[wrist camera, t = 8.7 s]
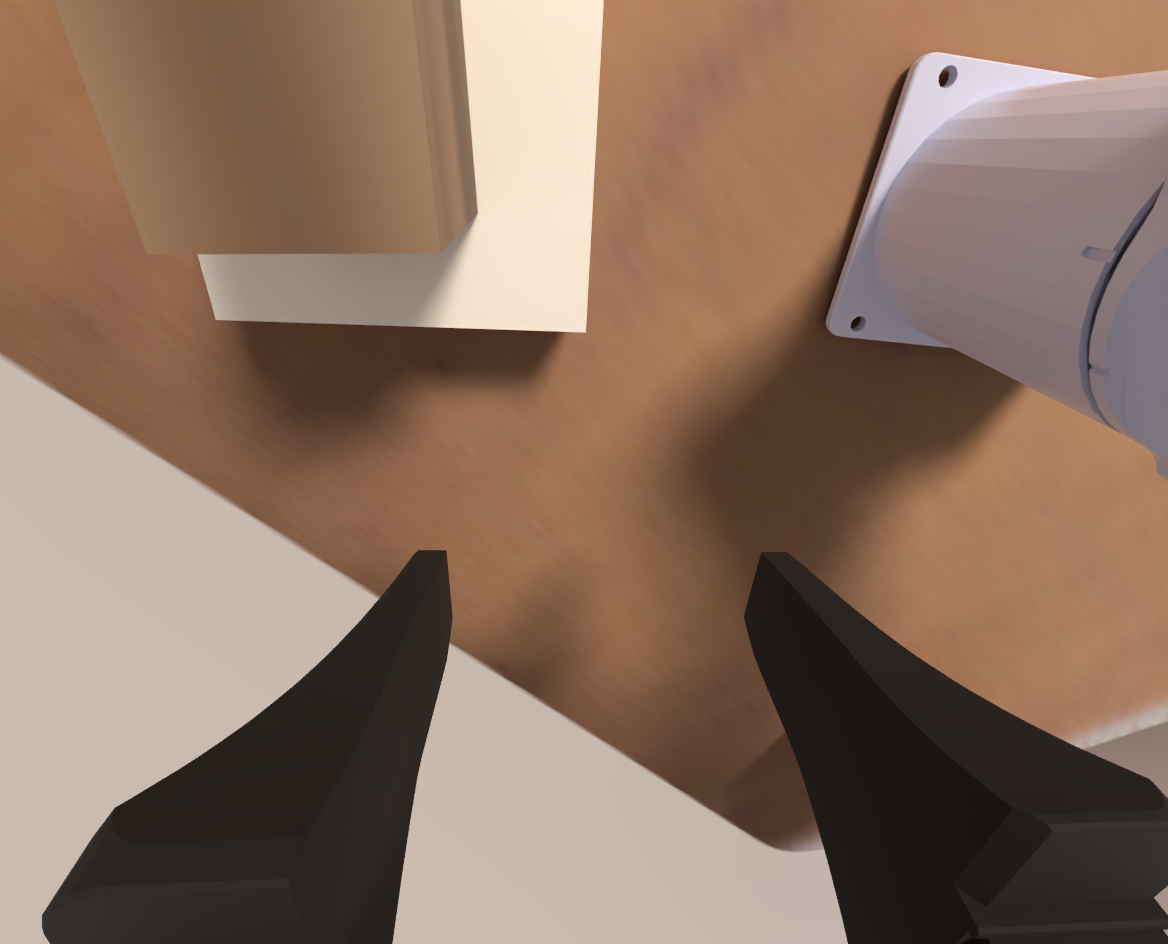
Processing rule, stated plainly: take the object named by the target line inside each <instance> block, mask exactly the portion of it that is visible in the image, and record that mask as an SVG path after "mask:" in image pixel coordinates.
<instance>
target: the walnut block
mask: <svg viewBox="0 0 1168 944" xmlns="http://www.w3.org/2000/svg"><path fill="white" fill-rule="evenodd" d="M54 3H55V6H56V8H57V11H58V14H59V17H60V19H61V22H62V25H63V27H64V30H65V33H66V36H67V38H68V41H69V44H70V46H71V49H72V52H73V55H74V57H75V60H76V63H77V66H78V68H79V71H80V74H81V76H82V79H83V82H84V85H85V87H86V90H87V93H88V95H89V98H90V101H91V104H92V106H93V109H94V112H95V115H96V117H97V120H98V123H99V125H100V128H101V131H102V134H103V136H104V139H105V142H106V144H107V147H108V150H109V153H110V155H111V158H112V161H113V163H114V166H115V169H116V172H117V174H118V177H119V180H120V183H121V185H122V188H123V191H124V193H125V196H126V199H127V202H128V204H129V207H130V210H131V212H132V215H133V218H134V221H135V223H136V226H137V229H138V232H139V234H140V237H141V240H142V242H143V245H144V248H145V251H146V253H147V255H173V254H380V253H442V252H443V251H444V249H445V248H446V247H447V246H448V245H449V244H450V243H451V242H452V241H453V240H454V239H455V238H456V236H457V235H458V234H459V233H460V232H461V231H462V230H463V229H464V228H465V227H466V226H467V225H468V224H469V222H470V221H471V220H472V219H473V218H474V217H475V216H476V215H477V214H478V209H477V196H476V184H475V172H474V160H473V148H472V136H471V124H470V111H469V99H468V87H467V75H466V63H465V51H464V38H463V26H462V14H461V2H460V0H54Z"/></svg>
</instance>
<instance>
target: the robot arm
mask: <svg viewBox="0 0 1168 944" xmlns="http://www.w3.org/2000/svg"><path fill="white" fill-rule="evenodd" d="M944 68H947V69H948V72H949V77H948V81H947V82H946V84H945V85H944V86H943V87H941V86H940V84H939V82H938V80H939V75H940V73H941V71H942V70H943V69H944ZM859 316H860V323H859V324H858V326H856V327H855V328H851V322H852V321H853V319H855V318H856V317H859ZM826 327H827V329H828V330H829V331H830V332H831V333H832V334H834V335H836V336H839V337H849V338H859V339H868V340H878V341H888V342H898V343H907V344H917V345H927V346H937V347H946V348H953V349H955V350H957V351H959V352H961V353H963V354H965V355H967V356H969V357H971V358H973V359H975V360H977V361H979V362H981V363H983V364H985V365H987V366H989V367H991V368H993V369H995V370H997V371H999V372H1001V373H1003V374H1005V375H1007V376H1009V377H1011V378H1013V379H1015V380H1016V381H1018V382H1020V383H1022V384H1024V385H1026V386H1028V387H1030V388H1032V389H1034V390H1036V391H1038V392H1040V393H1042V394H1044V395H1046V396H1048V397H1050V398H1052V399H1054V400H1056V401H1058V402H1060V403H1062V404H1064V405H1066V406H1068V407H1070V408H1072V409H1074V410H1076V411H1078V412H1080V413H1082V414H1084V415H1086V416H1088V417H1090V418H1092V419H1094V420H1096V421H1098V422H1100V423H1101V424H1103V425H1105V426H1107V427H1109V428H1111V429H1113V430H1115V431H1117V432H1119V433H1121V434H1123V435H1125V436H1127V437H1129V438H1131V439H1133V440H1134V441H1136V442H1138V443H1140V444H1142V445H1144V446H1145V447H1147V448H1148V449H1149V450H1150V451H1151V452H1152V454H1153V455H1154V457H1155V459H1156V463H1157V472H1158V474H1159V475H1161V476H1163V477H1165V478H1166V479H1168V70H1165V71H1156V72H1148V73H1139V74H1131V75H1122V76H1114V77H1105V78H1092V77H1086V76H1080V75H1074V74H1068V73H1062V72H1056V71H1050V70H1044V69H1037V68H1031V67H1025V66H1019V65H1013V64H1007V63H1001V62H995V61H989V60H982V59H976V58H970V57H964V56H958V55H952V54H946V53H940V52H936V53H929V54H925V55H923V56H921V57H919V58H918V59H917V60H916V61H915V62H914V63H913V64H912V66H911V68H910V70H909V72H908V74H907V77H906V80H905V83H904V86H903V89H902V92H901V95H900V98H899V101H898V105H897V108H896V111H895V114H894V117H893V120H892V123H891V126H890V129H889V132H888V135H887V138H886V141H885V144H884V147H883V150H882V153H881V156H880V159H879V162H878V165H877V168H876V171H875V174H874V177H873V180H872V183H871V186H870V189H869V192H868V195H867V198H866V201H865V204H864V207H863V210H862V213H861V216H860V219H859V222H858V225H857V228H856V231H855V234H854V237H853V240H852V243H851V246H850V249H849V252H848V255H847V258H846V261H845V264H844V267H843V270H842V273H841V276H840V279H839V282H838V285H837V288H836V291H835V294H834V297H833V300H832V303H831V306H830V309H829V312H828V315H827V318H826ZM744 619H745V623H746V627H747V631H748V635H749V639H750V642H751V646H752V649H753V653H754V656H755V659H756V662H757V664H758V667H759V669H760V672H761V674H762V676H763V679H764V681H765V684H766V686H767V688H768V691H769V693H770V696H771V698H772V700H773V703H774V705H775V707H776V710H777V712H778V715H779V717H780V719H781V722H782V724H783V726H784V729H785V731H786V733H787V736H788V738H789V741H790V743H791V745H792V748H793V750H794V753H795V756H796V758H797V761H798V764H799V766H800V769H801V773H802V776H803V779H804V782H805V785H806V789H807V792H808V795H809V798H810V802H811V805H812V808H813V811H814V815H815V818H816V822H817V825H818V829H819V832H820V836H821V839H822V843H823V846H824V850H825V853H826V857H827V860H828V864H829V868H830V872H831V876H832V880H833V884H834V888H835V891H836V896H837V899H838V903H839V907H840V911H841V915H842V919H843V923H844V928H845V932H846V937H847V941H848V944H1168V936H1167V935H1166V934H1165V932H1164V931H1163V930H1164V929H1166V930H1167V929H1168V915H1167V914H1166V913H1165V911H1164V910H1163V909H1162V908H1161V906H1160V905H1159V904H1158V903H1157V901H1156V900H1155V899H1154V897H1155V896H1156V895H1157V894H1158V893H1159V892H1161V891H1162V890H1163V889H1164V888H1166V887H1167V886H1168V798H1167V797H1166V796H1165V795H1164V794H1163V793H1162V792H1161V791H1160V790H1159V789H1158V787H1157V786H1156V785H1155V784H1154V783H1153V782H1152V781H1151V780H1149V779H1148V778H1146V777H1143V776H1141V775H1139V774H1136V773H1134V772H1132V771H1130V770H1128V769H1125V768H1123V767H1121V766H1118V765H1116V764H1114V763H1112V762H1109V761H1107V760H1105V759H1102V758H1100V757H1098V756H1096V755H1093V754H1091V753H1089V752H1087V751H1084V750H1082V749H1080V748H1078V747H1076V746H1074V745H1071V744H1069V743H1067V742H1065V741H1063V740H1061V739H1059V738H1057V737H1055V736H1053V735H1051V734H1049V733H1047V732H1045V731H1043V730H1041V729H1039V728H1037V727H1035V726H1033V725H1031V724H1029V723H1027V722H1025V721H1024V720H1022V719H1020V718H1018V717H1016V716H1014V715H1012V714H1010V713H1009V712H1007V711H1005V710H1003V709H1001V708H1000V707H998V706H996V705H994V704H993V703H991V702H989V701H987V700H986V699H984V698H982V697H980V696H979V695H977V694H975V693H973V692H972V691H970V690H968V689H967V688H965V687H963V686H962V685H960V684H958V683H957V682H955V681H953V680H952V679H950V678H949V677H947V676H946V675H944V674H943V673H941V672H940V671H938V670H937V669H935V668H934V667H932V666H930V665H929V664H927V663H926V662H924V661H923V660H921V659H920V658H918V657H917V656H915V655H914V654H913V653H911V652H910V651H908V650H907V649H906V648H904V647H903V646H901V645H900V644H899V643H897V642H896V641H895V640H893V639H892V638H891V637H889V636H888V635H887V634H885V633H884V632H883V631H881V630H880V629H879V628H877V627H876V626H875V625H874V624H872V623H871V622H870V621H869V620H867V619H866V618H865V617H864V616H862V615H861V614H860V613H859V612H857V611H856V610H855V609H854V608H852V607H851V606H850V605H849V604H848V603H846V602H845V601H844V600H843V599H842V598H841V597H839V596H838V595H837V594H836V593H835V592H833V591H832V590H831V589H830V588H829V587H828V586H826V585H825V584H824V583H823V582H822V581H821V580H819V579H818V578H817V577H816V576H815V575H814V574H812V573H811V572H810V571H809V570H808V569H807V568H805V567H804V566H803V565H802V564H801V563H800V562H798V561H797V560H796V559H795V558H793V557H792V556H791V555H790V554H788V553H787V552H761V555H760V559H759V563H758V566H757V570H756V574H755V578H754V581H753V585H752V589H751V592H750V596H749V600H748V604H747V607H746V611H745V615H744ZM451 626H452V607H451V596H450V585H449V574H448V563H447V552H446V550H418V551H417V552H416V553H415V554H414V555H413V556H412V558H411V559H410V560H409V562H408V563H407V564H406V566H405V567H404V568H403V570H402V571H401V572H400V574H399V575H398V576H397V578H396V579H395V580H394V581H393V583H392V584H391V585H390V586H389V588H388V589H387V590H386V591H385V593H384V594H383V595H382V596H381V597H380V599H379V600H378V601H377V602H376V603H375V604H374V606H373V607H372V608H371V609H370V610H369V611H368V613H367V614H366V615H365V616H364V617H363V619H362V620H361V621H360V622H359V623H358V624H357V625H356V626H355V627H354V628H353V629H352V630H351V631H350V632H349V633H348V634H347V635H346V636H345V638H344V639H343V640H342V641H341V642H340V643H339V644H338V645H337V646H336V647H335V648H334V649H333V650H332V651H331V652H330V653H329V654H328V655H327V656H326V657H325V658H324V659H323V660H322V661H321V662H320V663H318V665H316V667H314V668H313V669H312V670H311V671H310V672H309V673H308V674H306V675H305V676H304V677H303V678H302V679H301V680H300V681H299V682H297V683H296V684H295V685H294V686H293V687H292V688H290V689H289V690H288V691H287V692H286V693H284V694H283V695H282V696H281V697H279V698H278V699H277V700H276V701H275V702H274V703H272V704H271V705H270V706H268V707H267V708H266V709H265V710H263V711H262V712H261V713H260V714H258V715H257V716H256V717H255V718H253V719H252V720H251V721H249V722H248V723H247V724H245V725H244V726H242V727H241V728H240V729H238V730H237V731H235V732H234V733H233V734H231V735H230V736H228V737H227V738H225V739H224V740H223V741H222V742H220V743H218V744H217V745H215V746H214V747H212V748H211V749H209V750H208V751H207V752H205V753H204V754H202V755H201V756H199V757H198V758H196V759H195V760H193V761H191V762H190V763H188V764H187V765H185V766H184V767H182V768H181V769H179V770H177V771H176V772H174V773H172V774H171V775H169V776H167V777H166V778H164V779H162V780H161V781H159V782H157V783H156V784H154V785H153V786H151V787H149V788H148V789H146V790H144V791H143V792H141V793H140V794H138V795H136V796H134V797H133V798H131V799H129V800H128V801H126V802H124V803H122V804H121V805H119V806H117V807H115V809H114V810H113V811H112V812H111V814H110V815H109V817H108V818H107V819H106V820H105V822H104V823H103V824H102V826H101V827H100V828H99V830H98V831H97V832H96V834H95V835H94V836H93V838H92V839H91V841H90V842H89V844H88V845H87V847H86V848H85V850H84V851H83V853H82V854H81V856H80V857H79V859H78V861H77V862H76V864H75V865H74V867H73V868H72V870H71V871H70V873H69V875H68V876H67V877H66V879H65V881H64V882H63V884H62V885H61V887H60V888H59V890H58V891H57V893H56V894H55V896H54V898H53V899H52V901H51V902H50V904H49V905H48V907H47V908H46V910H45V911H44V913H43V914H42V929H43V932H44V935H45V936H46V938H47V940H48V941H49V943H50V944H392V942H393V934H394V927H395V921H396V913H397V906H398V899H399V892H400V885H401V878H402V871H403V864H404V858H405V851H406V844H407V838H408V831H409V825H410V818H411V812H412V806H413V800H414V794H415V788H416V782H417V776H418V771H419V767H420V762H421V758H422V754H423V749H424V746H425V742H426V738H427V734H428V731H429V727H430V722H431V719H432V715H433V711H434V707H435V703H436V700H437V696H438V692H439V688H440V684H441V681H442V677H443V673H444V669H445V665H446V661H447V654H448V648H449V641H450V634H451Z"/></svg>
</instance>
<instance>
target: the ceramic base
mask: <svg viewBox="0 0 1168 944" xmlns="http://www.w3.org/2000/svg"><path fill="white" fill-rule="evenodd" d="M603 1H604V0H460V2H461V14H462V26H463V38H464V51H465V63H466V75H467V87H468V99H469V111H470V124H471V136H472V148H473V160H474V172H475V184H476V196H477V209H478V214H477V215H476V216H475V217H474V218H473V219H472V220H471V221H470V222H469V224H468V225H467V226H466V227H465V228H464V229H463V230H462V231H461V232H460V233H459V234H458V235H457V236H456V238H455V239H454V240H453V241H452V242H451V243H450V244H449V245H448V246H447V247H446V248H445V249H444V251H443V252H442V253H380V254H198V258H199V261H200V265H201V268H202V272H203V276H204V279H205V283H206V286H207V290H208V293H209V297H210V301H211V304H212V308H213V311H214V315H215V318H216V320H234V321H264V322H293V323H323V324H352V325H382V326H411V327H441V328H470V329H500V330H529V331H559V332H586V319H587V300H588V281H589V263H590V244H591V225H592V207H593V188H594V169H595V151H596V132H597V113H598V94H599V76H600V57H601V38H602V20H603Z"/></svg>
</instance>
